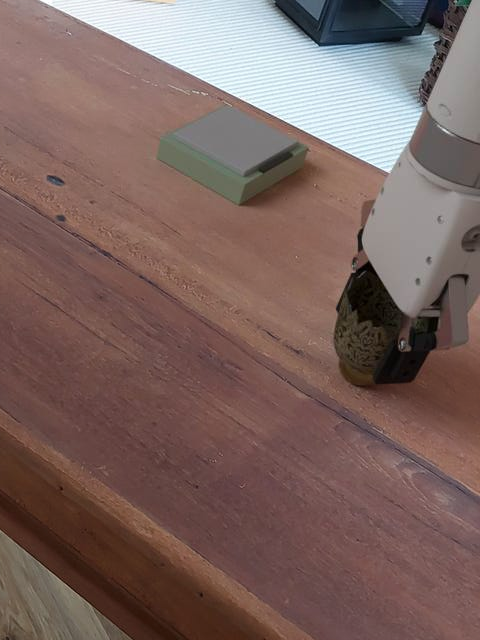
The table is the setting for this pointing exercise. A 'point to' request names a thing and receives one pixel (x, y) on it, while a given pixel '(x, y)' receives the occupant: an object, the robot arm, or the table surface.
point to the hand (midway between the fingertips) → (372, 344)
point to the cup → (367, 327)
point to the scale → (232, 153)
